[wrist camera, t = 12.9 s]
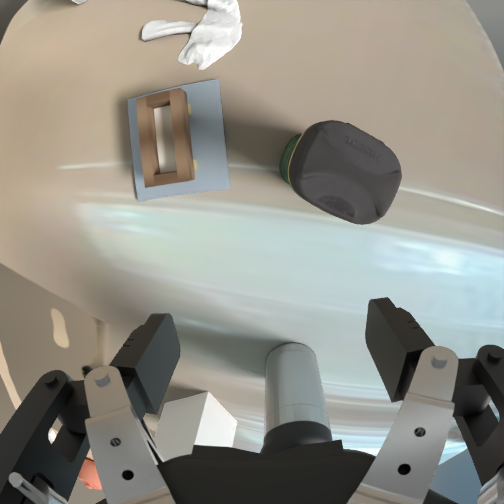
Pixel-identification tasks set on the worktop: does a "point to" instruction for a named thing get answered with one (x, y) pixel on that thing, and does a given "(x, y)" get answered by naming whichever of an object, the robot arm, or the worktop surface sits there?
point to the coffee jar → (342, 171)
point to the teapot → (90, 475)
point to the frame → (165, 138)
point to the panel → (202, 139)
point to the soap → (51, 435)
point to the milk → (193, 425)
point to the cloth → (202, 32)
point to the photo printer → (79, 1)
